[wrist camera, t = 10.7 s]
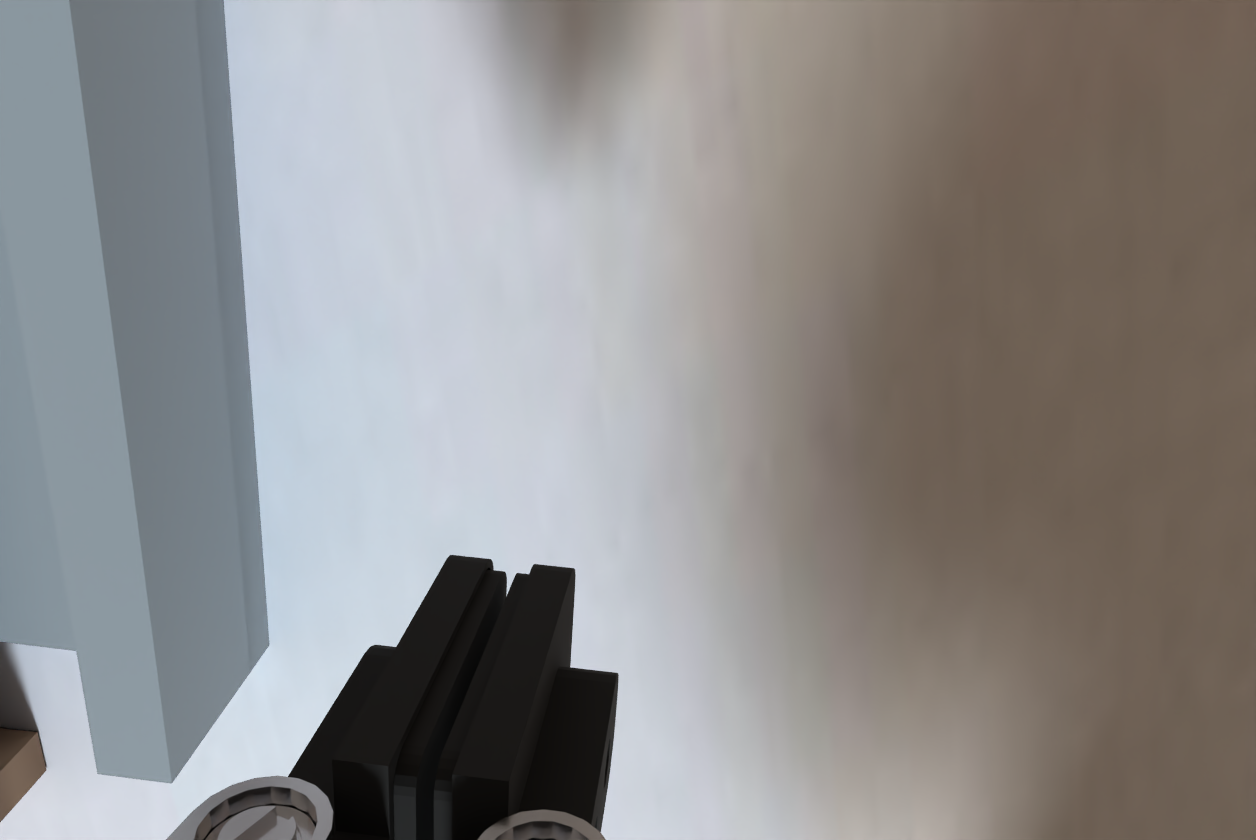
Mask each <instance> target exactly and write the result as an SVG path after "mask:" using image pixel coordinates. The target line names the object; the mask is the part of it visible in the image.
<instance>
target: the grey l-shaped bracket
mask: <svg viewBox="0 0 1256 840" xmlns="http://www.w3.org/2000/svg"><path fill="white" fill-rule="evenodd" d="M0 642H8V643H16V644H24V645H32V646H40V647H48V648H56V649H64V650H72V651H77V657H78V663H79V669H80V675H81V680H82V686H83V692H84V698H85V704H86V709H87V715H88V721H89V727H90V733H91V739H92V744H93V750H94V756H95V762H96V768H97V773H98V774H102V775H110V776H117V777H125V778H133V779H141V780H149V781H157V782H165V783H173V781H174V780H175V778H176V777H177V775H178V774H179V773H180V771H181V770H182V768H183V767H184V765H185V764H186V763H187V761H188V760H189V758H190V757H191V756H192V754H193V753H194V751H195V750H196V748H197V747H198V746H199V744H200V743H201V741H202V740H203V739H204V737H205V736H206V734H207V733H208V731H209V730H210V729H211V727H212V726H213V724H214V723H215V721H216V720H217V719H218V717H219V716H220V714H221V713H222V712H223V710H224V709H225V707H226V706H227V704H228V703H229V702H230V700H231V699H232V697H233V696H234V695H235V693H236V692H237V690H238V689H239V687H240V686H241V685H242V683H243V682H244V680H245V679H246V677H247V676H248V675H249V673H250V672H251V670H252V669H253V668H254V666H255V665H256V663H257V662H258V660H259V659H260V658H261V656H262V655H263V653H264V652H265V651H266V649H267V648H268V646H269V633H268V619H267V605H266V591H265V577H264V563H263V549H262V535H261V521H260V507H259V493H258V479H257V464H256V450H255V436H254V422H253V408H252V394H251V380H250V366H249V352H248V338H247V324H246V310H245V296H244V281H243V267H242V253H241V239H240V225H239V211H238V197H237V183H236V169H235V155H234V141H233V127H232V113H231V99H230V84H229V70H228V56H227V42H226V28H225V14H224V0H0Z"/></svg>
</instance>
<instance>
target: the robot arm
mask: <svg viewBox="0 0 1256 840" xmlns="http://www.w3.org/2000/svg"><path fill="white" fill-rule="evenodd" d="M506 588H507V577H506V573H505V572H503V571H494V570H493V562H492V560H491V559H483V558H474V557H465V556H456V555H450V556H449V557H448V558H447V560H446V561H445V563H444V565H443V567H442V568H441V570H440V572H439V574H438V575H437V577H436V579H435V581H434V582H433V584H432V586H431V588H430V589H429V591H428V593H427V595H426V596H425V598H424V600H423V602H422V603H421V605H420V607H419V608H418V610H417V612H416V614H415V615H414V617H413V619H412V621H411V622H410V624H409V626H408V628H407V629H406V631H405V633H404V635H403V636H402V638H401V640H400V642H399V643H398V645H397V647H390V646H381V645H374V646H371V647H370V648H369V649H368V650H367V651H366V653H365V654H364V655H363V657H362V659H361V660H360V662H359V664H358V665H357V667H356V668H355V670H354V672H353V673H352V675H351V676H350V678H349V680H348V681H347V683H346V684H345V686H344V688H343V689H342V691H341V692H340V694H339V696H338V697H337V699H336V700H335V702H334V704H333V705H332V707H331V708H330V710H329V712H328V713H327V715H326V716H325V718H324V720H323V721H322V723H321V724H320V726H319V728H318V729H317V731H316V733H315V734H314V736H313V737H312V739H311V741H310V742H309V744H308V745H307V747H306V749H305V750H304V752H303V753H302V755H301V757H300V758H299V760H298V761H297V763H296V765H295V766H294V768H293V769H292V771H291V773H290V774H289V776H288V777H284V776H271V777H261V778H254V779H250V780H247V781H244V782H240V783H237V784H234V785H231V786H229V787H227V788H225V789H224V790H222V791H220V792H218V793H216V794H214V795H212V796H210V797H209V798H208V799H207V800H206V801H204V802H203V803H202V804H201V805H200V806H198V807H197V808H196V809H195V810H194V811H193V812H192V813H191V814H190V815H189V816H188V817H187V818H186V819H185V820H184V821H183V822H182V823H181V824H180V825H179V826H178V827H177V829H176V830H175V831H174V832H173V833H172V834H171V835H170V836H169V837H168V838H167V839H166V840H605V838H604V837H603V835H602V834H601V827H602V820H603V814H604V807H605V801H606V795H607V788H608V781H609V774H610V766H611V757H612V749H613V739H614V729H615V717H616V705H617V693H618V673H612V672H604V671H595V670H587V669H578V668H570V661H571V644H572V627H573V610H574V593H575V569H574V568H565V567H556V566H547V565H538V564H534V565H533V567H532V569H531V571H530V574H521V573H517V574H516V575H515V578H514V580H513V582H512V585H511V587H510V590H509V592H508V594H507V597H506Z"/></svg>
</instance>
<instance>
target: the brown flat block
mask: <svg viewBox="0 0 1256 840" xmlns="http://www.w3.org/2000/svg"><path fill="white" fill-rule="evenodd" d="M45 771H46V767H45V762H44V758H43V754H42V749H41V745H40V741H39V737H38V732H31V731H21V730H12V729H2V728H0V822H1V821H2V820H3V819H4V817H5V816H6V815H7V814H8V813H9V812H10V811H11V810H12V808H13V807H14V806H15V805H16V804H17V803H18V802H19V801H20V799H21V798H22V797H23V796H24V795H25V794H26V793H27V792H28V790H29V789H30V788H31V787H32V786H33V785H34V784H35V783H36V781H37V780H38V779H39V778H40V777H41V776H42V775H43V774H44V772H45Z"/></svg>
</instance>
